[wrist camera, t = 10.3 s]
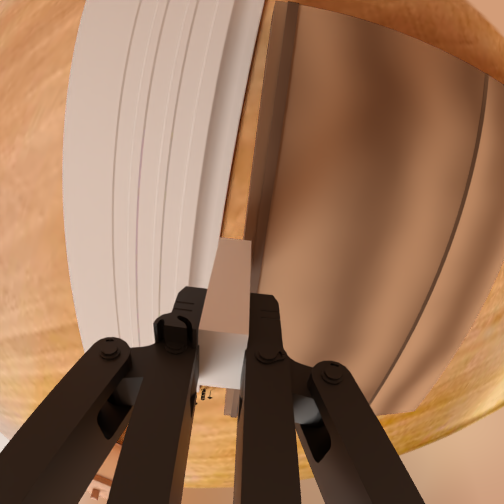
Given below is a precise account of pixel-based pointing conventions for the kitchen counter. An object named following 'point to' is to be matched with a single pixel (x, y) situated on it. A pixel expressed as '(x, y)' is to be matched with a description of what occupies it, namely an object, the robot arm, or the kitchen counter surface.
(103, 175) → the baseboard molding
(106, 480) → the lidded jar
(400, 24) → the kitchen counter surface
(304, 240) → the grooved tan panel
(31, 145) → the kitchen counter surface
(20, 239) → the kitchen counter surface
